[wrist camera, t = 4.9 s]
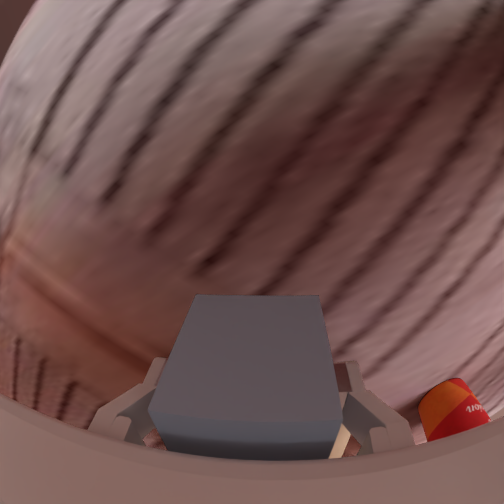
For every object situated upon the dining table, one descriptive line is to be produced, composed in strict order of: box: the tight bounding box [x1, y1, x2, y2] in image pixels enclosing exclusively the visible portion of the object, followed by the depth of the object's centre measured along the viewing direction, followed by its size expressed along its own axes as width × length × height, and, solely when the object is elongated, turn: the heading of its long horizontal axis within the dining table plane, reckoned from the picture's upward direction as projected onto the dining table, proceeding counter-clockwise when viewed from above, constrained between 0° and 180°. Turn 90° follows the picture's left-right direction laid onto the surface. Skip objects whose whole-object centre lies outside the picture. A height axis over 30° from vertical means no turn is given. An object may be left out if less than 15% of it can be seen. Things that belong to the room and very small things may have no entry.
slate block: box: [148, 294, 343, 461], centre depth 10 cm, size 5×5×6 cm
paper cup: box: [418, 378, 491, 442], centre depth 16 cm, size 8×8×14 cm
